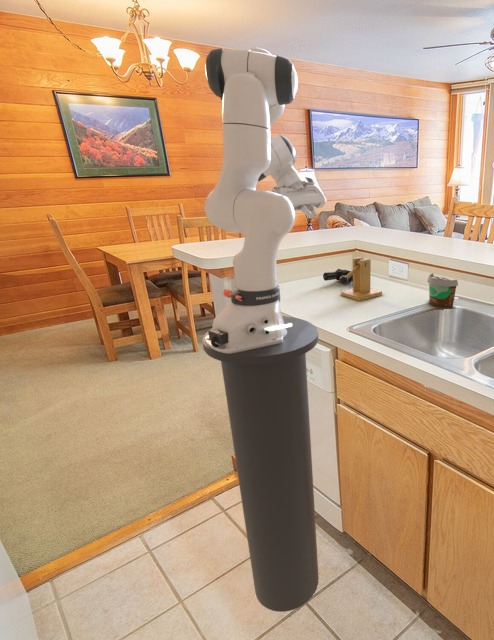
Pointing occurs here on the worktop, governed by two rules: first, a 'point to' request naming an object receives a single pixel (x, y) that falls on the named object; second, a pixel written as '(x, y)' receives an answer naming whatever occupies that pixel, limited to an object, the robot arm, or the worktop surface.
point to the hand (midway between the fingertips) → (313, 217)
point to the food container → (441, 291)
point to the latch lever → (349, 274)
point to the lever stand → (361, 282)
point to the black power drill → (337, 275)
